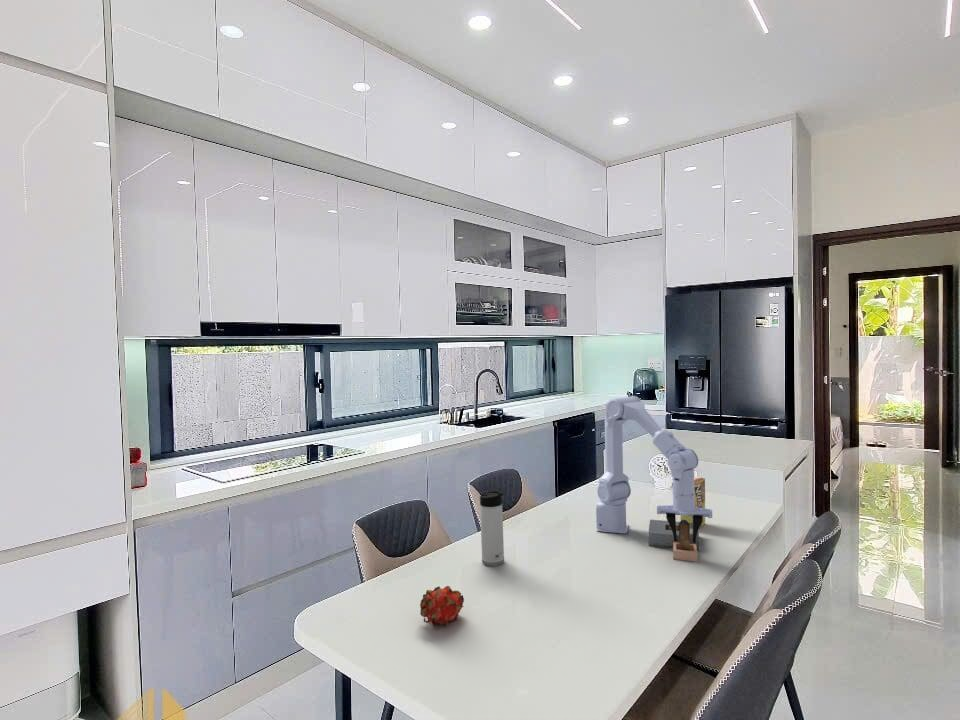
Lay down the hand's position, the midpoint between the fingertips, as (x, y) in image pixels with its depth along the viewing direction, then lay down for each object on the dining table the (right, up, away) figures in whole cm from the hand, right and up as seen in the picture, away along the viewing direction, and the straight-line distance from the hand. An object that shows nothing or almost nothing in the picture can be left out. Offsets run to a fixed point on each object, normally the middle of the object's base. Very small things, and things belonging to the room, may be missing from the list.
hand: (684, 540), depth 150 cm
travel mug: (-54, -7, +1) cm, 54 cm away
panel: (+1, -4, +12) cm, 12 cm away
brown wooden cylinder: (0, -4, 0) cm, 4 cm away
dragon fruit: (-66, -8, -30) cm, 73 cm away
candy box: (+12, -3, +24) cm, 27 cm away
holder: (0, -4, 0) cm, 4 cm away
